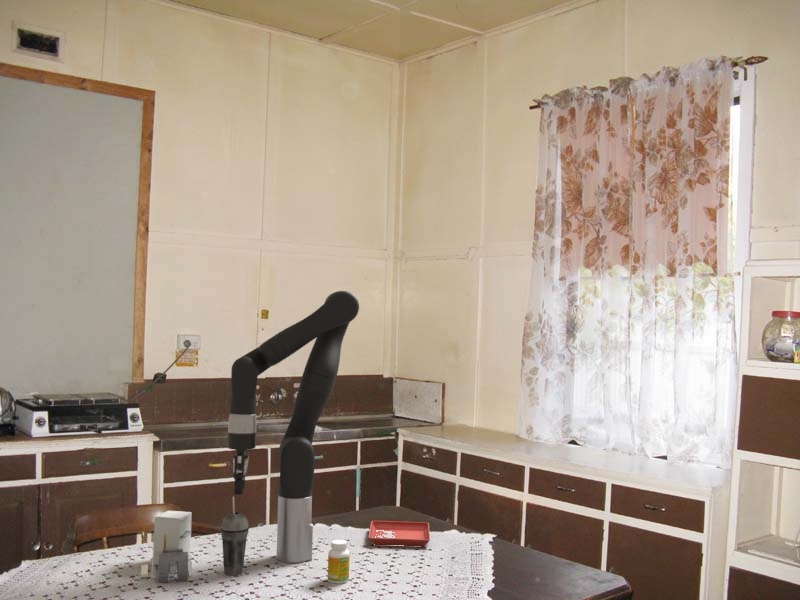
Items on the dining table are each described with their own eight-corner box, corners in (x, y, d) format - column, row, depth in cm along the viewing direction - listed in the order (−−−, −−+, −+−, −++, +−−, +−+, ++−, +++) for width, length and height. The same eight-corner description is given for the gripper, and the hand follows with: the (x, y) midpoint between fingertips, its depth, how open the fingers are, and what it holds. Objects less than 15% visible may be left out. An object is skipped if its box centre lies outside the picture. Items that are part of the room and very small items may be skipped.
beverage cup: (253, 571, 200) (255, 493, 200) (238, 579, 193) (240, 499, 193) (228, 567, 202) (231, 490, 202) (213, 576, 195) (215, 496, 196)
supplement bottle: (340, 585, 191) (341, 546, 191) (323, 581, 194) (324, 542, 194) (353, 579, 195) (354, 541, 196) (336, 575, 198) (337, 537, 198)
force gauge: (190, 555, 211) (191, 532, 211) (193, 581, 191) (194, 555, 191) (141, 559, 207) (142, 535, 207) (140, 585, 187) (141, 558, 188)
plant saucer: (430, 550, 223) (430, 538, 223) (367, 548, 223) (368, 537, 223) (428, 532, 241) (428, 522, 241) (371, 531, 241) (371, 520, 241)
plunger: (182, 565, 200) (183, 532, 201) (183, 578, 191) (184, 544, 191) (162, 566, 199) (163, 533, 199) (162, 579, 189) (163, 545, 190)
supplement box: (177, 567, 200) (179, 518, 200) (151, 564, 202) (153, 516, 202) (191, 558, 207) (192, 511, 208) (165, 556, 209) (167, 509, 209)
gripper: (255, 433, 201) (252, 496, 200) (257, 428, 215) (254, 487, 214) (225, 433, 200) (223, 496, 199) (229, 428, 214) (227, 487, 213)
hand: (239, 491), depth 207 cm, fingers open, 8 cm apart
